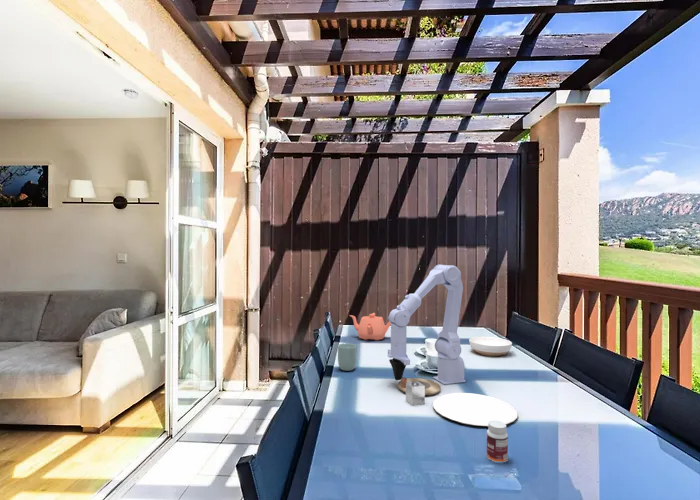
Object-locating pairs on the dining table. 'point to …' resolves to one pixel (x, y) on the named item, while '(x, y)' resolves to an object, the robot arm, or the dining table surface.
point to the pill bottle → (497, 441)
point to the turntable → (429, 385)
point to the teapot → (371, 327)
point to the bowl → (490, 345)
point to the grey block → (415, 393)
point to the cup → (347, 356)
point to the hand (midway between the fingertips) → (398, 379)
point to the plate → (474, 409)
